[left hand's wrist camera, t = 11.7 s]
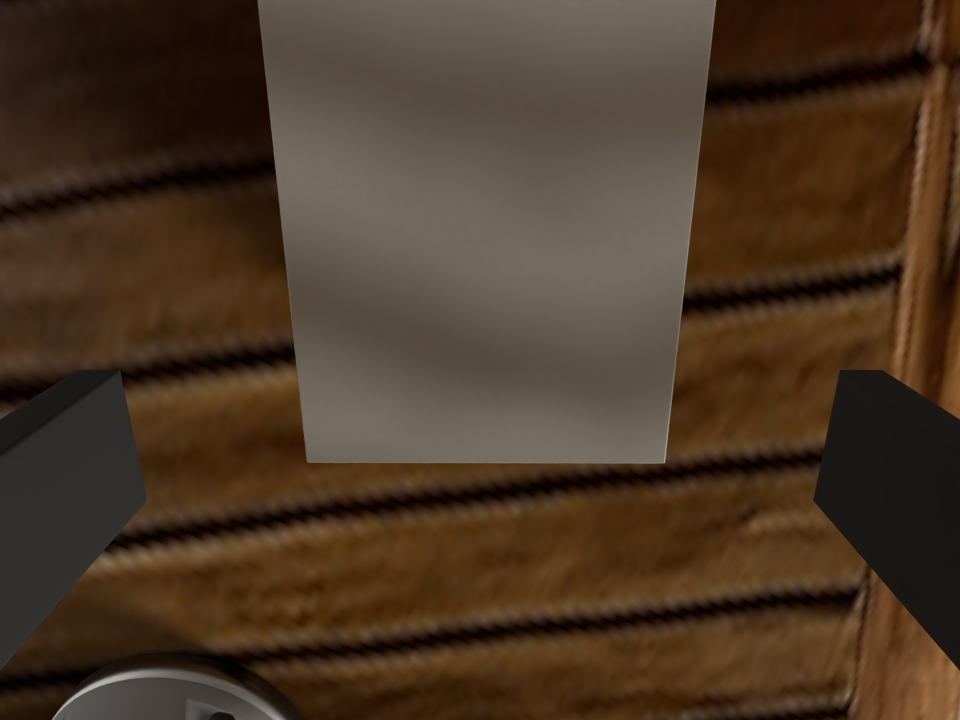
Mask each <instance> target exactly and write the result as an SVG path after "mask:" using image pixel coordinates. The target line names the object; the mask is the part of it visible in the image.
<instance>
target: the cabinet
mask: <svg viewBox="0 0 960 720" xmlns="http://www.w3.org/2000/svg"><path fill="white" fill-rule="evenodd" d="M715 5H716V0H258V9H259V18H260V28H261V37H262V47H263V56H264V65H265V75H266V84H267V93H268V103H269V112H270V121H271V131H272V140H273V149H274V159H275V168H276V177H277V187H278V196H279V205H280V215H281V224H282V233H283V243H284V252H285V261H286V271H287V280H288V290H289V299H290V308H291V318H292V327H293V336H294V346H295V355H296V364H297V374H298V383H299V392H300V402H301V411H302V420H303V430H304V439H305V448H306V458H307V462H308V463H665V457H666V448H667V439H668V430H669V421H670V412H671V402H672V393H673V384H674V375H675V366H676V357H677V348H678V339H679V330H680V321H681V312H682V303H683V294H684V285H685V276H686V267H687V258H688V249H689V240H690V231H691V222H692V213H693V204H694V195H695V186H696V177H697V168H698V159H699V150H700V141H701V132H702V123H703V114H704V105H705V96H706V87H707V77H708V68H709V59H710V50H711V41H712V32H713V23H714V14H715Z"/></svg>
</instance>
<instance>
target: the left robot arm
mask: <svg viewBox="0 0 960 720" xmlns="http://www.w3.org/2000/svg"><path fill="white" fill-rule="evenodd" d="M146 501H147V500H146V495H145V490H144V485H143V480H142V476H141V471H140V466H139V461H138V456H137V451H136V446H135V442H134V437H133V432H132V427H131V422H130V417H129V412H128V407H127V403H126V398H125V393H124V388H123V383H122V378H121V373H120V370H77V371H76V372H74V373H72V374H71V375H69V376H68V377H66V378H65V379H63V380H61V381H60V382H58V383H57V384H55V385H54V386H52V387H51V388H49V389H47V390H46V391H44V392H43V393H41V394H40V395H38V396H36V397H35V398H33V399H32V400H30V401H29V402H27V403H25V404H24V405H22V406H21V407H19V408H18V409H16V410H14V411H13V412H11V413H10V414H8V415H7V416H5V417H4V418H2V419H0V670H1V669H2V668H3V667H4V666H5V664H6V663H7V662H8V661H9V660H10V659H11V657H12V656H13V655H14V654H15V653H16V652H17V650H18V649H19V648H20V647H21V646H22V645H23V643H24V642H25V641H26V640H27V639H28V638H29V637H30V635H31V634H32V633H33V632H34V631H35V630H36V628H37V627H38V626H39V625H40V624H41V623H42V621H43V620H44V619H45V618H46V617H47V616H48V614H49V613H50V612H51V611H52V610H53V609H54V608H55V606H56V605H57V604H58V603H59V602H60V601H61V599H62V598H63V597H64V596H65V595H66V594H67V592H68V591H69V590H70V589H71V588H72V587H73V585H74V584H75V583H76V582H77V581H78V580H79V578H80V577H81V576H82V575H83V574H84V573H85V572H86V570H87V569H88V568H89V567H90V566H91V565H92V563H93V562H94V561H95V560H96V559H97V558H98V556H99V555H100V554H101V553H102V552H103V551H104V549H105V548H106V547H107V546H108V545H109V544H110V542H111V541H112V540H113V539H114V538H115V537H116V536H117V534H118V533H119V532H120V531H121V530H122V529H123V527H124V526H125V525H126V524H127V523H128V522H129V520H130V519H131V518H132V517H133V516H134V515H135V513H136V512H137V511H138V510H139V509H140V508H141V506H142V505H143V504H144V503H145V502H146ZM813 501H814V502H815V503H816V504H817V505H818V506H819V508H820V509H821V510H822V511H823V512H824V513H825V515H826V516H827V517H828V518H829V519H830V520H831V522H832V523H833V524H834V525H835V526H836V527H837V529H838V530H839V531H840V532H841V533H842V534H843V536H844V537H845V538H846V539H847V540H848V541H849V542H850V544H851V545H852V546H853V547H854V548H855V549H856V551H857V552H858V553H859V554H860V555H861V556H862V558H863V559H864V560H865V561H866V562H867V563H868V565H869V566H870V567H871V568H872V569H873V570H874V572H875V573H876V574H877V575H878V576H879V577H880V578H881V580H882V581H883V582H884V583H885V584H886V585H887V587H888V588H889V589H890V590H891V591H892V592H893V594H894V595H895V596H896V597H897V598H898V599H899V601H900V602H901V603H902V604H903V605H904V606H905V608H906V609H907V610H908V611H909V612H910V613H911V614H912V616H913V617H914V618H915V619H916V620H917V621H918V623H919V624H920V625H921V626H922V627H923V628H924V630H925V631H926V632H927V633H928V634H929V635H930V637H931V638H932V639H933V640H934V641H935V642H936V643H937V645H938V646H939V647H940V648H941V649H942V650H943V652H944V653H945V654H946V655H947V656H948V657H949V659H950V660H951V661H952V662H953V663H954V664H955V666H956V667H957V668H958V669H959V670H960V419H958V418H956V417H955V416H953V415H952V414H950V413H949V412H947V411H946V410H944V409H942V408H941V407H939V406H938V405H936V404H935V403H933V402H931V401H930V400H928V399H927V398H925V397H924V396H922V395H920V394H919V393H917V392H916V391H914V390H913V389H911V388H909V387H908V386H906V385H905V384H903V383H902V382H900V381H899V380H897V379H895V378H894V377H892V376H891V375H889V374H888V373H886V372H884V371H883V370H840V373H839V378H838V383H837V388H836V393H835V398H834V403H833V407H832V412H831V417H830V422H829V427H828V432H827V437H826V442H825V446H824V451H823V456H822V461H821V466H820V471H819V476H818V480H817V485H816V490H815V495H814V500H813ZM52 720H304V719H303V717H302V716H301V715H300V713H299V712H298V711H297V709H296V708H295V707H294V706H293V705H292V704H291V703H290V702H289V701H288V700H287V699H286V698H285V697H284V696H283V695H282V694H281V693H279V692H278V691H277V690H275V689H274V688H273V687H271V686H270V685H269V684H267V683H266V682H264V681H262V680H261V679H259V678H257V677H256V676H254V675H252V674H250V673H248V672H246V671H244V670H241V669H239V668H237V667H234V666H231V665H229V664H226V663H223V662H220V661H216V660H212V659H208V658H203V657H198V656H192V655H184V654H150V655H141V656H136V657H131V658H127V659H124V660H120V661H117V662H114V663H112V664H109V665H107V666H105V667H103V668H101V669H99V670H97V671H95V672H94V673H92V674H91V675H89V676H88V677H86V678H85V679H84V680H83V681H82V682H80V683H79V684H78V685H77V686H76V688H75V689H74V690H73V691H72V692H71V694H70V695H69V696H68V698H67V699H66V701H65V702H64V704H63V705H62V706H61V708H60V709H59V711H58V712H57V713H56V715H55V716H54V718H53V719H52Z"/></svg>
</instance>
